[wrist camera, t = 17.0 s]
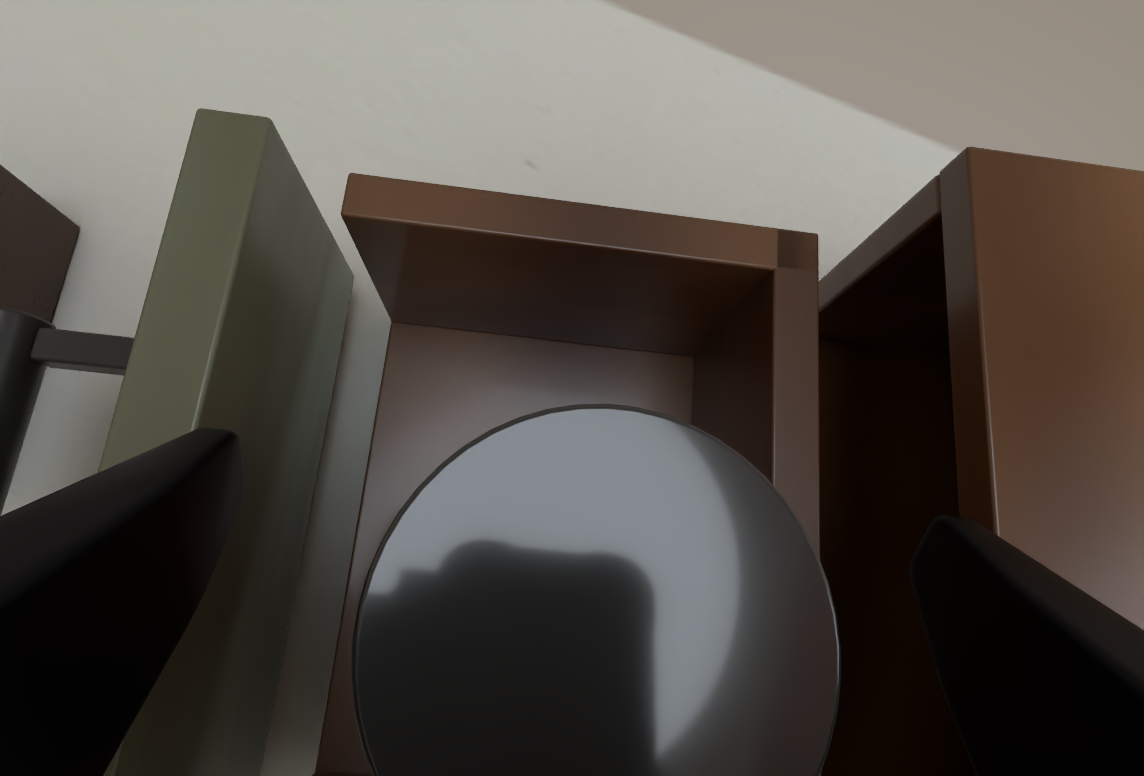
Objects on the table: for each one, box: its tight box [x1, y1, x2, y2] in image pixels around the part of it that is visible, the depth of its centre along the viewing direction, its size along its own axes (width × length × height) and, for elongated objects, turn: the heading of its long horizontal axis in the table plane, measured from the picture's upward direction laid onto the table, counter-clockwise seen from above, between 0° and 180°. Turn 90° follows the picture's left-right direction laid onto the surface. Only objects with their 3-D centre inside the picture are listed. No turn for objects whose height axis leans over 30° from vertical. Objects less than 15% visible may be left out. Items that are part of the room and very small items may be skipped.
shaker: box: [351, 404, 841, 776], centre depth 10 cm, size 5×5×8 cm
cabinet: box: [818, 147, 1144, 776], centre depth 14 cm, size 12×14×8 cm
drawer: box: [0, 109, 821, 776], centre depth 12 cm, size 15×12×6 cm
